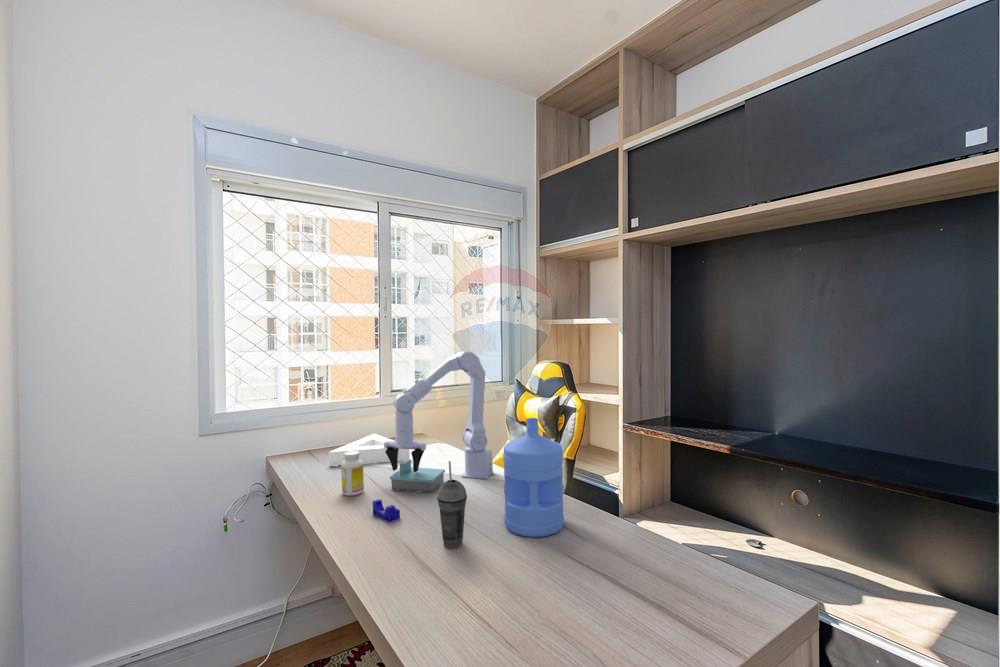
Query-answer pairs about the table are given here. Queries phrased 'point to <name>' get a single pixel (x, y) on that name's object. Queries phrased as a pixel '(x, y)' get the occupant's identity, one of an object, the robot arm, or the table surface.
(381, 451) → the triangular ruler
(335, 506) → the table surface
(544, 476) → the water jug
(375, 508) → the cable holder
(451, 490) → the beverage cup
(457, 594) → the table surface
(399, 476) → the lid
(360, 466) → the supplement bottle
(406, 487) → the tub
